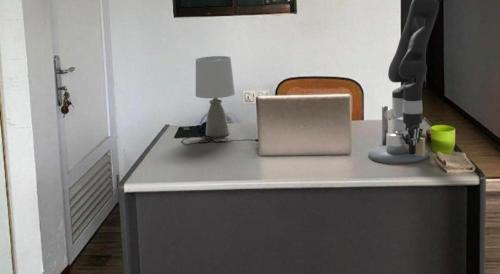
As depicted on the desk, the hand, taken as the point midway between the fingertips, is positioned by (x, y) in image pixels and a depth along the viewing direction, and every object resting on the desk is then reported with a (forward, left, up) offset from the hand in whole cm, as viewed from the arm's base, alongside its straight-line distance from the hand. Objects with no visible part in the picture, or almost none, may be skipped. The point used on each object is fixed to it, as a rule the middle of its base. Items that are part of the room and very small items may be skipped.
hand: (412, 154), depth 301 cm
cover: (-5, -9, -1) cm, 10 cm away
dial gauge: (-13, -19, -3) cm, 23 cm away
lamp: (+3, -103, -4) cm, 103 cm away
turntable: (-5, -9, -3) cm, 11 cm away
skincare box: (-23, -16, -4) cm, 28 cm away
